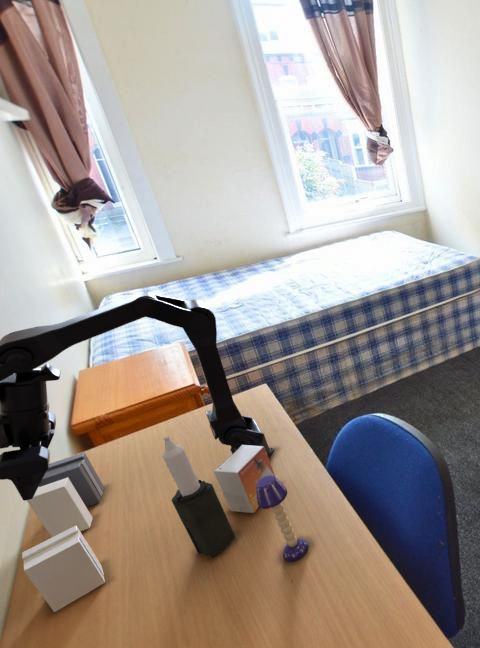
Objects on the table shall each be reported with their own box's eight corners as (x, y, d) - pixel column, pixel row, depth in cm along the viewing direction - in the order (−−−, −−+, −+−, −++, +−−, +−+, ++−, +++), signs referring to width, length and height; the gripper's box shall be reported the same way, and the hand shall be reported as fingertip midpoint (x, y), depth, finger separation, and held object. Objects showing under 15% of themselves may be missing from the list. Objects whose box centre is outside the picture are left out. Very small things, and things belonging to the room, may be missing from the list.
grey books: (104, 487, 104) (84, 452, 100) (100, 502, 100) (78, 466, 96) (64, 501, 101) (42, 465, 97) (58, 517, 97) (34, 481, 93)
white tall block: (93, 518, 96) (68, 477, 92) (90, 528, 94) (64, 486, 89) (58, 531, 94) (30, 489, 89) (54, 541, 91) (25, 499, 87)
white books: (101, 564, 85) (76, 525, 81) (106, 582, 82) (80, 541, 78) (50, 593, 81) (21, 552, 77) (53, 612, 77) (23, 571, 73)
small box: (253, 514, 93) (236, 473, 89) (230, 511, 94) (212, 471, 90) (279, 484, 100) (264, 445, 96) (257, 482, 101) (241, 443, 97)
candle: (238, 535, 89) (190, 428, 79) (214, 558, 84) (161, 448, 74) (218, 530, 90) (169, 424, 80) (194, 552, 86) (139, 443, 76)
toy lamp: (280, 567, 81) (250, 495, 75) (279, 547, 85) (250, 477, 78) (309, 554, 83) (282, 483, 77) (307, 535, 87) (281, 466, 80)
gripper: (-36, 391, 82) (-27, 470, 85) (-63, 439, 68) (-51, 532, 72) (53, 382, 89) (58, 456, 92) (44, 425, 76) (50, 509, 79)
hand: (30, 485), depth 84 cm, fingers open, 9 cm apart
